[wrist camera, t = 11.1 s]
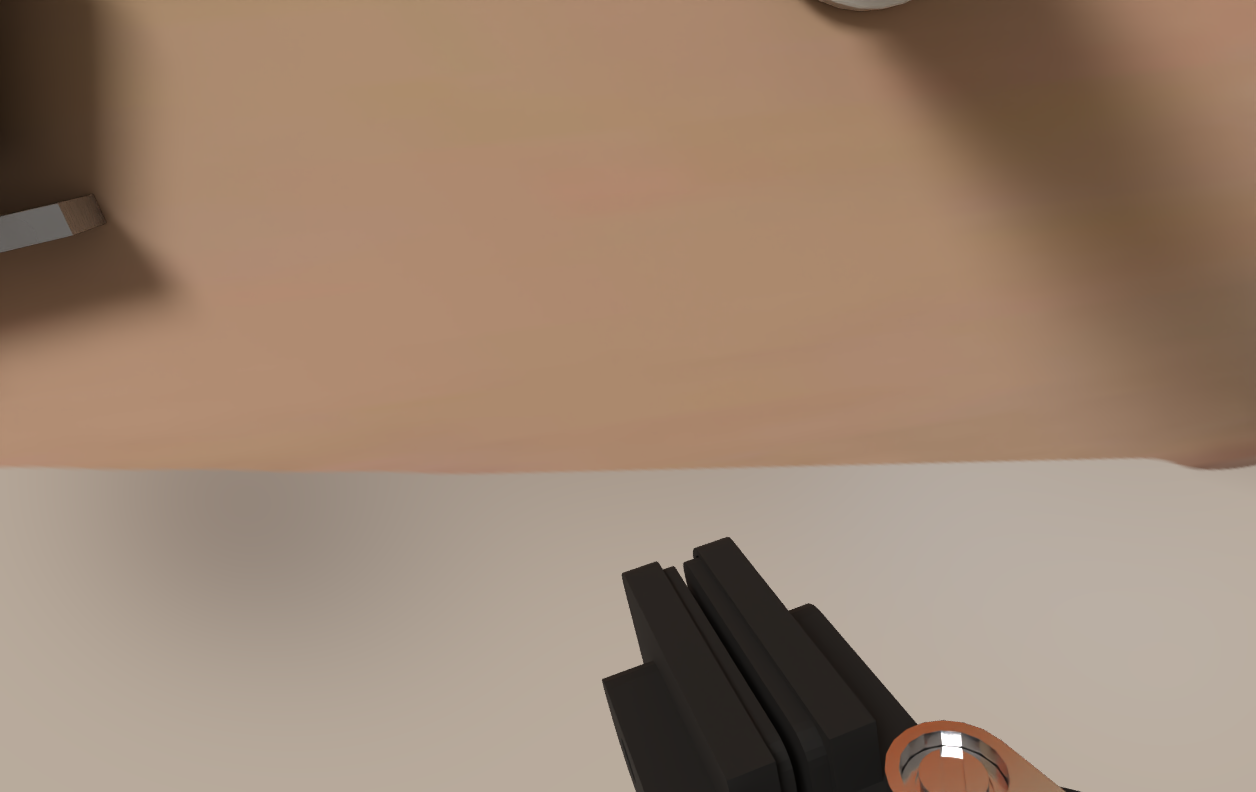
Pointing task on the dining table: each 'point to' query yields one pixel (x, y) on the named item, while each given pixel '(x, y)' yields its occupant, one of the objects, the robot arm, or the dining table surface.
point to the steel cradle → (49, 222)
